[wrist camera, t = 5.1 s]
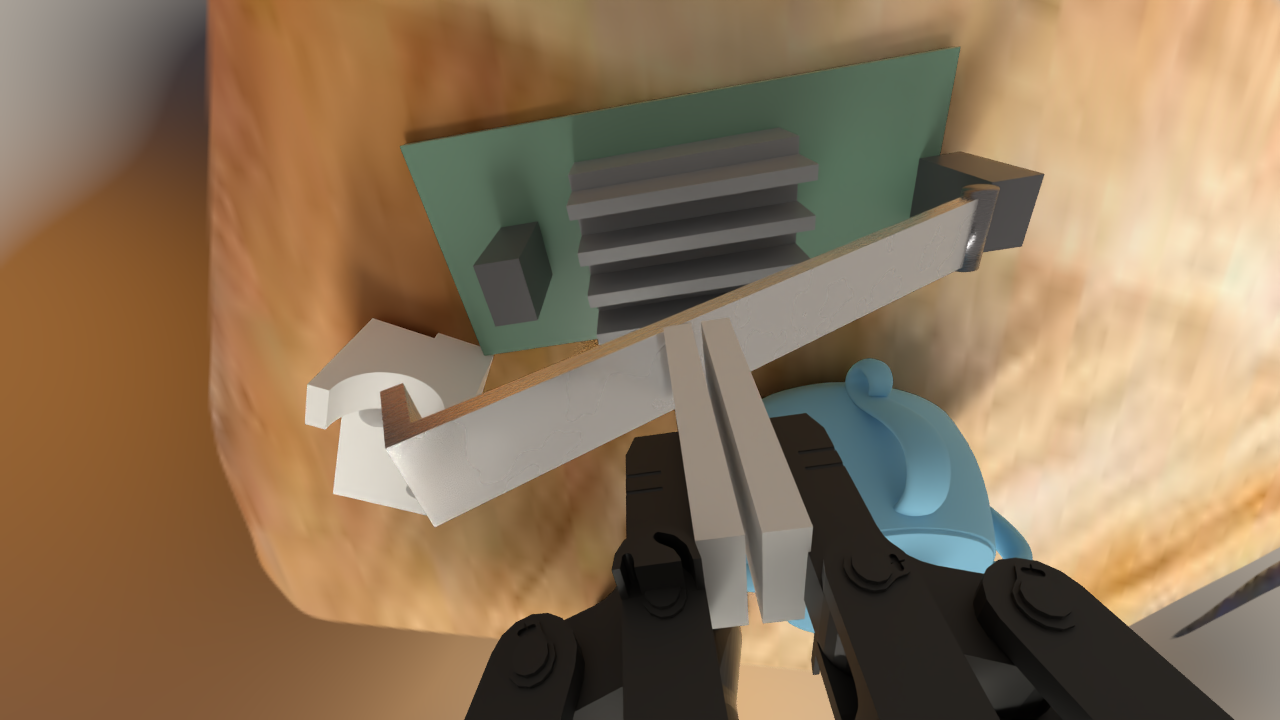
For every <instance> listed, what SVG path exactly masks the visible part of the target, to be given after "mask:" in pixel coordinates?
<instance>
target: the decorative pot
mask: <svg viewBox="0 0 1280 720" xmlns="http://www.w3.org/2000/svg"><path fill="white" fill-rule="evenodd" d="M892 386H893V376H892V372H891V370H890V368H889V367H888V365H886V364H885V363H884V362H882V361H880V360H877V359H871V358H868V359H863V360H860V361H858V362H857V363H855V364H854V365H853V366H852V367H851V368H850V369H849V371H848V373H847V375H846V379H845V382H827V383H818V384H811V385H806V386H800V387H796V388H791V389H787V390H783V391H780V392H777V393H774V394H771V395H769V396H767V397H765V398H763V399H762V401H763V404H764V406H765V409H766V411H767V414H768V416H769V418H772V417H780V416H787V415H795V414H802V413H807V414H808V415H809V416H810V417H812V418H813V419H814V420H815V421H817V422H818V423H819V424H820V425H822V426H823V427H824V428H825V430H826V432H827V434H828V436H829V437H830V439H831V441H832V443H833V445H834V448H835V450H837V452H838V454H839V456H840V458H841V460H842V462H843V466H845V467H846V469H847V471H848V473H849V475H850V476H851V478H852V480H853V482H854V484H855V486H856V488H857V489H858V491H859V493H860V495H861V497H862V499H863V501H864V502H865V504H866V506H867V508H868V510H869V512H870V514H871V515H872V517H873V519H874V521H875V523H876V525H877V526H878V528H879V529H880V531H881V532H882V534H883V535H884V536H885V537H886V538H887V539H888V540H889V541H890V542H891V543H893V544H894V545H896V546H897V547H899V548H900V549H901V550H903V551H904V552H905V553H906V554H907V555H909V556H912V557H914V558H916V559H918V560H920V561H923V562H927V563H930V564H934V565H938V566H943V567H949V568H955V569H960V570H966V571H971V572H977V573H983V574H984V573H985V571H986V569H987V568H988V567H989V566H991V565H992V564H993V563H995V562H996V561H994V558H995V555H996V550H997V551H998V553H999V554H1000V555H1001V557H1002V558H1003V559H1008V558H1015V557H1017V558H1022V559H1028V560H1032V551H1031V549H1030V547H1029V545H1028V543H1027V541H1026V540H1025V539H1024V537H1023V536H1022V535H1021V534H1020V533H1019V532H1018V531H1017V530H1016V528H1015V527H1013V526H1012V525H1011V524H1010V523H1009V522H1008V521H1007V520H1006V519H1005V518H1004V517H1002V516H1001V515H1000V514H999V513H998V512H996V511H995V510H994V509H993V508H992V507H990V505H989V499H988V495H987V491H986V488H985V484H984V480H983V477H982V474H981V471H980V468H979V466H978V463H977V461H976V458H975V456H974V454H973V452H972V450H971V449H970V447H969V445H968V443H967V441H966V440H965V438H964V437H963V435H962V434H961V432H960V431H959V429H958V428H957V426H956V425H955V423H954V422H953V421H952V419H951V418H950V417H949V416H948V415H947V414H946V412H945V411H943V410H942V409H941V408H939V407H938V406H937V405H935V404H933V403H932V402H930V401H928V400H926V399H924V398H922V397H920V396H918V395H915V394H912V393H909V392H906V391H902V390H898V389H893V388H892ZM746 574H747V592H755V589H754V585H753V581H752V577H751V573H750V569H749V565H748V561H747V557H746ZM788 622H789V623H790V624H792V625H793V626H795V627H798V628H800V629H802V630H805V631H809V632H813V633H814V634H815V632H814V629H813V626H812V623H811V620H810V617H809V614H808V611H807V608H805V619H799V620H790V621H788Z"/></svg>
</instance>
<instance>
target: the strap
mask: <svg viewBox="0 0 1280 720" xmlns="http://www.w3.org/2000/svg"><path fill="white" fill-rule="evenodd" d="M999 190H1000V188H999V187H998V186H995V185H989V184H974V185H968V186H965V187H963V188H962V190H961V195H960V198H957V199H955V200H952V201H950V202H947V203H945V204H942V205H940V206H938V207H935V208H933V209H930V210H928V211H925V212H923V213H921V214H918V215H916V216H913V217H911V218H908V219H906V220H904V221H901V222H899V223H896V224H894V225H891V226H889V227H887V228H884V229H882V230H879V231H877V232H874V233H872V234H869V235H867V236H865V237H862V238H860V239H857V240H855V241H852V242H850V243H848V244H845V245H843V246H840V247H838V248H835V249H833V250H831V251H828V252H826V253H823V254H821V255H818V256H816V257H814V258H811V259H809V260H806V261H804V262H801V263H799V264H796V265H794V266H792V267H789V268H787V269H784V270H782V271H779V272H777V273H775V274H772V275H770V276H767V277H765V278H762V279H760V280H758V281H755V282H753V283H750V284H748V285H745V286H743V287H741V288H738V289H736V290H733V291H731V292H728V293H726V294H724V295H721V296H719V297H716V298H714V299H711V300H709V301H706V302H704V303H702V304H699V305H697V306H694V307H692V308H689V309H687V310H685V311H682V312H680V313H677V314H675V315H672V316H670V317H668V318H665V319H663V320H660V321H658V322H655V323H653V324H651V325H648V326H646V327H643V328H641V329H638V330H636V331H633V332H631V333H629V334H626V335H624V336H621V337H619V338H616V339H614V340H612V341H609V342H607V343H604V344H602V345H599V346H597V347H595V348H592V349H590V350H587V351H585V352H582V353H580V354H578V355H575V356H573V357H570V358H568V359H565V360H563V361H560V362H558V363H556V364H553V365H551V366H548V367H546V368H543V369H541V370H539V371H536V372H534V373H531V374H529V375H526V376H524V377H522V378H519V379H517V380H514V381H512V382H509V383H507V384H505V385H502V386H500V387H497V388H495V389H492V390H490V391H487V392H485V393H483V394H480V395H478V396H475V397H473V398H470V399H468V400H466V401H463V402H461V403H458V404H456V405H453V406H451V407H449V408H446V409H444V410H441V411H439V412H436V413H434V414H432V415H429V416H427V417H424V418H422V417H421V415H420V413H419V412H418V410H417V408H416V406H415V404H414V402H413V400H412V399H411V397H410V395H409V393H408V391H407V389H406V387H405V386H404V384H403V383H401V384H399V385H396V386H393V387H391V388H388V389H386V390H383V391H380V398H381V409H382V420H383V430H384V441H385V449H386V451H387V452H388V454H389V455H390V457H391V459H392V460H393V462H394V463H395V465H396V467H397V468H398V470H399V471H400V473H401V475H402V476H403V478H404V479H405V481H406V483H407V484H408V486H409V487H410V489H411V491H412V492H413V494H414V495H415V497H416V498H417V500H418V502H419V503H420V505H421V506H422V508H423V510H424V511H425V513H426V514H427V516H428V518H429V519H430V521H431V522H432V524H433V526H434V527H437V526H439V525H441V524H443V523H445V522H447V521H449V520H451V519H453V518H455V517H457V516H459V515H461V514H463V513H465V512H467V511H469V510H471V509H473V508H475V507H477V506H479V505H481V504H483V503H485V502H487V501H489V500H491V499H493V498H495V497H497V496H499V495H502V494H504V493H506V492H508V491H510V490H512V489H514V488H516V487H518V486H520V485H522V484H524V483H526V482H528V481H530V480H532V479H534V478H536V477H538V476H540V475H542V474H544V473H546V472H548V471H550V470H552V469H554V468H556V467H558V466H560V465H562V464H564V463H566V462H568V461H570V460H573V459H575V458H577V457H579V456H581V455H583V454H585V453H587V452H589V451H591V450H593V449H595V448H597V447H599V446H601V445H603V444H605V443H607V442H609V441H611V440H613V439H615V438H617V437H619V436H621V435H623V434H625V433H627V432H629V431H631V430H633V429H635V428H637V427H639V426H641V425H644V424H646V423H648V422H650V421H652V420H654V419H656V418H658V417H660V416H662V415H664V414H666V413H668V412H670V411H672V410H674V409H675V406H674V399H673V392H672V385H671V378H670V371H669V365H668V358H667V351H666V344H665V337H664V330H663V327H668V326H674V325H681V324H688V323H691V325H692V329H693V333H694V337H695V341H696V345H697V349H698V353H699V357H700V361H701V365H702V369H703V372H704V376H705V380H706V374H705V363H704V352H703V341H702V330H701V321H708V320H715V319H721V318H728V317H729V319H730V322H731V324H732V327H733V329H734V332H735V334H736V337H737V339H738V342H739V344H740V346H741V349H742V351H743V354H744V356H745V359H746V361H747V364H748V366H749V369H750V371H753V370H755V369H757V368H759V367H761V366H763V365H765V364H767V363H769V362H771V361H773V360H775V359H777V358H779V357H781V356H783V355H786V354H788V353H790V352H792V351H794V350H796V349H798V348H800V347H802V346H804V345H806V344H808V343H810V342H812V341H814V340H816V339H818V338H820V337H822V336H824V335H826V334H828V333H830V332H832V331H834V330H836V329H838V328H840V327H842V326H844V325H846V324H848V323H850V322H852V321H854V320H857V319H859V318H861V317H863V316H865V315H867V314H869V313H871V312H873V311H875V310H877V309H879V308H881V307H883V306H885V305H887V304H889V303H891V302H893V301H895V300H897V299H899V298H901V297H903V296H905V295H907V294H909V293H911V292H913V291H915V290H917V289H919V288H921V287H923V286H925V285H928V284H930V283H932V282H934V281H936V280H938V279H940V278H942V277H944V276H946V275H948V274H950V273H952V272H954V271H957V272H971V271H975V270H977V269H978V268H979V265H980V261H981V257H982V253H983V250H984V246H985V242H986V238H987V235H988V231H989V227H990V223H991V220H992V216H993V212H994V208H995V205H996V201H997V197H998V193H999Z"/></svg>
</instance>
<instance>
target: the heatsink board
mask: <svg viewBox="0 0 1280 720" xmlns="http://www.w3.org/2000/svg"><path fill="white" fill-rule="evenodd" d="M959 53H960V47H948V48H943V49H937V50H932V51H926V52H920V53H915V54H909V55H903V56H898V57H892V58H886V59H881V60H875V61H870V62H864V63H858V64H853V65H847V66H841V67H836V68H830V69H825V70H819V71H813V72H808V73H802V74H796V75H791V76H785V77H780V78H774V79H768V80H763V81H757V82H751V83H746V84H740V85H734V86H729V87H723V88H718V89H712V90H706V91H701V92H695V93H689V94H684V95H678V96H673V97H667V98H661V99H656V100H650V101H644V102H639V103H633V104H627V105H622V106H616V107H611V108H605V109H599V110H594V111H588V112H582V113H577V114H571V115H566V116H560V117H554V118H549V119H543V120H537V121H532V122H526V123H520V124H515V125H509V126H504V127H498V128H492V129H487V130H481V131H475V132H470V133H464V134H459V135H453V136H447V137H442V138H436V139H430V140H425V141H419V142H414V143H408V144H404V145H402V146H400V148H401V151H402V153H403V156H404V158H405V161H406V163H407V166H408V168H409V171H410V173H411V176H412V178H413V181H414V183H415V186H416V188H417V191H418V193H419V195H420V198H421V200H422V203H423V205H424V208H425V210H426V213H427V215H428V218H429V220H430V223H431V225H432V228H433V230H434V233H435V235H436V238H437V240H438V243H439V245H440V248H441V250H442V252H443V255H444V257H445V260H446V262H447V265H448V267H449V270H450V272H451V275H452V277H453V280H454V282H455V285H456V287H457V290H458V292H459V295H460V297H461V300H462V302H463V305H464V307H465V309H466V312H467V314H468V317H469V319H470V322H471V324H472V327H473V329H474V332H475V334H476V337H477V339H478V342H479V344H480V347H481V349H482V352H483V354H484V356H486V355H493V354H500V353H506V352H513V351H520V350H527V349H533V348H540V347H547V346H553V345H560V344H567V343H573V342H580V341H587V340H594V339H598V343H599V345H602V344H604V343H607V342H609V341H612V340H614V339H616V338H619V337H621V336H624V335H626V334H629V333H631V332H633V331H636V330H638V329H641V328H643V327H646V326H648V325H651V324H653V323H655V322H658V321H660V320H663V319H665V318H668V317H670V316H672V315H675V314H677V313H680V312H682V311H685V310H687V309H689V308H692V307H694V306H697V305H699V304H702V303H704V302H706V301H709V300H711V299H714V298H716V297H719V296H721V295H724V294H726V293H728V292H731V291H733V290H736V289H738V288H741V287H743V286H745V285H748V284H750V283H753V282H755V281H758V280H760V279H762V278H765V277H767V276H770V275H772V274H775V273H777V272H779V271H782V270H784V269H787V268H789V267H792V266H794V265H796V264H799V263H801V262H804V261H806V260H809V259H811V258H814V257H816V256H818V255H821V254H823V253H826V252H828V251H831V250H833V249H835V248H838V247H840V246H843V245H845V244H848V243H850V242H852V241H855V240H857V239H860V238H862V237H865V236H867V235H869V234H872V233H874V232H877V231H879V230H882V229H884V228H887V227H889V226H891V225H894V224H896V223H899V222H901V221H904V220H906V219H908V218H911V217H913V216H916V215H918V214H921V213H923V212H925V211H928V210H930V209H933V208H935V207H938V206H940V205H942V204H945V203H947V202H950V201H952V200H955V199H957V198H960V195H961V190H962V188H963V187H965V186H968V185H974V184H989V185H995V186H998V187H999V188H1000V190H999V193H998V197H997V201H996V205H995V208H994V212H993V216H992V220H991V223H990V227H989V231H988V235H987V238H986V242H985V246H984V250H983V252H988V251H994V250H1001V249H1008V248H1014V247H1021V246H1022V244H1023V241H1024V238H1025V234H1026V231H1027V228H1028V225H1029V222H1030V218H1031V215H1032V212H1033V209H1034V206H1035V202H1036V199H1037V196H1038V193H1039V190H1040V186H1041V183H1042V180H1043V177H1044V174H1043V173H1039V172H1035V171H1032V170H1028V169H1024V168H1020V167H1017V166H1013V165H1009V164H1005V163H1002V162H998V161H994V160H990V159H987V158H983V157H979V156H975V155H972V154H968V153H964V152H955V153H949V154H943V155H940V153H941V147H942V142H943V137H944V132H945V126H946V121H947V116H948V110H949V105H950V100H951V95H952V89H953V84H954V79H955V74H956V68H957V63H958V58H959ZM913 292H914V291H913Z"/></svg>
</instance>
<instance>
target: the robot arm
mask: <svg viewBox="0 0 1280 720" xmlns="http://www.w3.org/2000/svg"><path fill="white" fill-rule="evenodd" d="M663 330H664V337H665V344H666V351H667V358H668V365H669V371H670V378H671V385H672V392H673V399H674V406H675V413H676V420H677V426H678V432H672V433H665V434H657V435H650V436H643V437H635V438H634V440H633V442H632V444H631V446H630V448H629V450H628V452H627V454H626V494H627V496H626V533H627V538H626V539H625V540H624V541H623V543H622V544H621V546H620V547H619V549H618V550H617V552H616V553H615V557H614V561H613V566H612V573H613V576H614V579H615V582H616V585H617V587H616V588H615V590H614V591H613V592H612V593H611V594H610V595H609V596H608V597H607V598H605V599H604V600H603V601H601V602H600V603H598V604H596V605H595V606H593V607H591V608H589V609H587V610H585V611H582V612H580V613H578V614H576V615H574V616H572V617H570V618H568V619H566V620H563V619H562V618H560V617H558V616H555V615H552V614H549V613H543V614H532V615H530V616H528V617H526V618H524V619H522V620H520V621H518V622H516V623H515V624H514V625H513V626H512V627H510V628H509V629H508V630H507V631H506V632H505V633H504V634H503V635H502V636H501V638H500V640H499V641H498V643H497V645H496V647H495V649H494V650H493V652H492V654H491V656H490V659H489V661H488V663H487V666H486V668H485V671H484V673H483V676H482V678H481V680H480V683H479V685H478V688H477V690H476V693H475V695H474V697H473V700H472V702H471V705H470V707H469V710H468V712H467V715H466V717H465V719H464V720H739V719H738V713H737V705H736V700H737V689H738V678H739V667H740V656H741V645H742V634H741V628H740V626H744V625H749V622H748V598H747V574H746V557H747V561H748V565H749V569H750V573H751V577H752V581H753V585H754V589H755V593H756V597H757V601H758V605H759V609H760V613H761V617H762V622H763V623H772V622H781V621H790V620H799V619H805V608H807V611H808V614H809V617H810V620H811V623H812V626H813V629H814V632H815V634H814V642H813V650H812V659H811V662H812V671H813V675H817V674H819V673H820V672H821V675H822V678H823V682H824V685H825V688H826V691H827V694H828V698H829V701H830V704H831V708H832V711H833V714H834V718H835V720H1234V719H1233V718H1232V717H1231V716H1230V715H1228V714H1227V713H1226V712H1225V711H1224V710H1223V709H1222V708H1220V707H1219V706H1218V705H1217V704H1216V703H1215V702H1213V701H1212V700H1211V699H1210V698H1209V697H1208V696H1207V695H1206V694H1204V693H1203V692H1202V691H1201V690H1200V689H1199V688H1198V687H1196V686H1195V685H1194V684H1193V683H1192V682H1191V681H1190V680H1189V679H1187V678H1186V677H1185V676H1184V675H1183V674H1182V673H1181V672H1179V671H1178V670H1177V669H1176V668H1175V667H1173V665H1171V664H1170V663H1169V662H1168V661H1167V660H1166V659H1165V658H1163V657H1162V656H1161V655H1160V654H1159V653H1158V652H1157V651H1155V650H1154V649H1153V648H1152V647H1151V646H1150V645H1149V644H1148V643H1146V642H1145V641H1144V640H1143V639H1142V638H1141V637H1140V636H1138V635H1137V634H1136V633H1135V632H1134V631H1133V630H1132V629H1130V628H1129V627H1128V626H1127V625H1126V624H1125V623H1124V622H1122V621H1121V620H1120V619H1119V618H1118V617H1117V616H1116V615H1115V614H1113V613H1112V612H1111V611H1110V610H1109V609H1108V608H1107V607H1105V606H1104V605H1103V604H1102V603H1101V602H1100V601H1099V600H1097V599H1096V598H1095V597H1094V596H1093V595H1092V594H1091V593H1089V592H1088V591H1087V590H1086V589H1085V588H1084V587H1083V586H1081V585H1080V584H1078V583H1077V582H1076V581H1074V580H1073V579H1071V578H1070V577H1068V576H1067V575H1066V574H1064V573H1063V572H1061V571H1059V570H1057V569H1055V568H1052V567H1050V566H1048V565H1045V564H1043V563H1041V562H1038V561H1034V560H1028V559H1022V558H1017V557H1015V558H1008V559H1001V560H998V561H996V562H995V563H993V564H992V565H991V566H989V567H988V568H987V569H986V571H985V573H984V574H983V573H977V572H971V571H966V570H960V569H955V568H949V567H943V566H938V565H934V564H930V563H927V562H923V561H920V560H918V559H916V558H914V557H912V556H909V555H907V554H906V553H905V552H904V551H903V550H901V549H900V548H899V547H897V546H896V545H894V544H893V543H891V542H890V541H889V540H888V539H887V538H886V537H885V536H884V535H883V534H882V532H881V531H880V529H879V528H878V526H877V525H876V523H875V521H874V519H873V517H872V515H871V514H870V512H869V510H868V508H867V506H866V504H865V502H864V501H863V499H862V497H861V495H860V493H859V491H858V489H857V488H856V486H855V484H854V482H853V480H852V478H851V476H850V475H849V473H848V471H847V469H846V467H845V466H843V462H842V460H841V458H840V456H839V454H838V452H837V450H835V448H834V445H833V443H832V441H831V439H830V437H829V436H828V434H827V432H826V430H825V428H824V427H823V426H822V425H820V424H819V423H818V422H817V421H815V420H814V419H813V418H812V417H810V416H809V415H808V414H807V413H802V414H795V415H787V416H780V417H772V418H769V416H768V414H767V411H766V409H765V406H764V404H763V401H762V399H761V396H760V394H759V391H758V389H757V386H756V384H755V381H754V379H753V376H752V374H751V371H750V369H749V366H748V364H747V361H746V359H745V356H744V354H743V351H742V349H741V346H740V344H739V342H738V339H737V337H736V334H735V332H734V329H733V327H732V324H731V322H730V319H729V317H728V318H721V319H715V320H708V321H701V330H702V341H703V352H704V363H705V374H706V380H705V376H704V372H703V369H702V365H701V361H700V357H699V353H698V349H697V345H696V341H695V337H694V333H693V329H692V325H691V323H688V324H681V325H674V326H668V327H663Z"/></svg>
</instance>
